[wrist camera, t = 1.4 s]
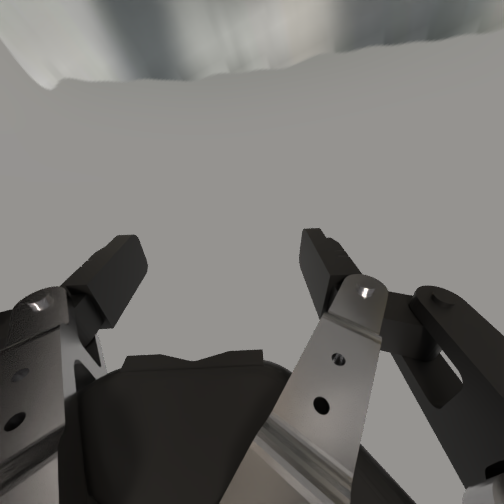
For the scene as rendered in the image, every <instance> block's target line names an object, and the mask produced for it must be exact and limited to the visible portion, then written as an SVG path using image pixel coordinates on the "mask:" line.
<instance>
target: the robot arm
mask: <svg viewBox="0 0 504 504" xmlns="http://www.w3.org/2000/svg"><path fill="white" fill-rule="evenodd" d="M299 263H300V268H301V271H302V273H303V276H304V279H305V281H306V284H307V287H308V289H309V292H310V294H311V298H312V300H313V303H314V306H315V308H316V311H317V313H318V316H319V319H320V321H319V323H318V325H317V327H316V329H315V330H314V332H313V335H312V336H311V338H310V340H309V342H308V344H307V346H306V348H305V350H304V352H303V353H302V355H301V357H300V359H299V361H298V363H297V365H296V367H295V368H294V370H293V372H290V371H289V370H287V369H286V368H284V367H282V366H280V365H278V364H275V363H273V362H270V361H265V360H263V351H262V350H243V351H228V352H225V353H222V354H218V355H215V356H211V357H208V358H205V359H201V360H198V361H187V360H183V359H179V358H174V357H170V356H166V355H161V354H158V355H138V356H127V357H126V359H125V362H124V364H123V366H122V368H121V369H118V370H115V371H113V372H110V373H107V370H106V365H105V361H104V357H103V353H102V348H101V344H100V340H99V337H98V336H97V334H96V333H97V331H98V330H99V329H107V328H114V326H115V324H116V323H117V321H118V320H119V318H120V316H121V315H122V313H123V311H124V310H125V308H126V306H127V305H128V303H129V301H130V300H131V298H132V296H133V295H134V293H135V291H136V290H137V288H138V286H139V284H140V283H141V281H142V280H143V278H144V276H145V275H146V273H147V268H148V264H147V260H146V257H145V255H144V252H143V249H142V247H141V244H140V241H139V239H138V237H137V236H136V235H118V236H116V237H115V238H114V239H113V240H112V241H111V242H110V243H109V244H108V245H107V246H106V247H104V248H102V249H100V250H99V251H97V252H95V253H94V254H93V255H92V256H91V257H90V258H89V259H88V261H86V262H85V263H84V264H83V265H82V267H80V268H79V269H78V270H76V271H75V272H74V273H73V274H72V275H71V276H70V277H69V278H68V279H67V280H66V281H65V282H64V283H63V284H62V285H61V286H59V287H58V286H56V287H48V288H45V289H41V290H39V291H36V292H34V293H32V294H30V295H28V296H26V297H25V298H23V299H22V300H20V301H19V302H18V303H17V304H16V305H15V306H14V308H13V309H12V310H8V311H4V312H0V504H416V503H415V502H414V501H413V500H412V499H411V498H410V496H409V495H408V494H407V493H406V492H405V491H404V490H403V489H402V488H401V487H400V486H399V485H398V484H397V483H396V481H395V480H394V479H393V478H392V477H391V476H390V475H389V474H388V473H387V472H386V471H385V470H384V469H383V467H382V466H380V464H379V463H378V462H377V461H376V460H375V459H374V458H373V457H372V456H371V455H370V454H369V452H367V450H366V449H365V448H364V447H363V446H362V445H361V444H360V441H361V437H362V432H363V427H364V423H365V418H366V413H367V409H368V404H369V399H370V394H371V390H372V385H373V381H374V376H375V371H376V366H377V362H378V357H379V352H380V350H382V351H386V352H390V353H391V355H392V356H393V358H394V360H395V362H396V364H397V365H398V367H399V369H400V371H401V372H402V374H403V376H404V378H405V380H406V382H407V384H408V385H409V387H410V389H411V391H412V393H413V394H414V396H415V398H416V400H417V402H418V403H419V405H420V407H421V409H422V411H423V412H424V414H425V416H426V418H427V420H428V422H429V423H430V425H431V427H432V429H433V431H434V432H435V434H436V436H437V438H438V440H439V441H440V443H441V445H442V447H443V449H444V451H445V452H446V454H447V456H448V458H449V459H450V461H451V463H452V465H453V467H454V469H455V470H456V472H457V474H458V476H459V478H460V480H461V481H462V483H463V485H464V487H465V489H466V490H465V493H464V495H463V504H504V336H503V335H502V334H501V333H500V332H499V331H498V330H497V329H495V328H494V327H493V326H492V325H491V324H490V323H489V322H488V321H487V320H486V319H484V318H483V317H482V316H481V315H480V314H479V313H478V312H477V311H476V310H475V309H473V308H472V307H471V306H470V305H469V304H468V303H467V302H466V301H465V300H463V299H462V298H461V297H459V296H458V295H456V294H454V293H452V292H450V291H448V290H446V289H443V288H440V287H435V286H421V287H419V288H417V290H416V291H415V293H414V295H413V296H411V295H405V294H400V293H394V292H389V291H388V290H387V288H386V286H385V285H384V284H383V283H381V282H380V281H379V280H377V279H375V278H373V277H370V276H367V275H363V274H362V273H361V272H360V271H359V269H358V268H357V267H356V265H355V264H354V263H353V261H352V260H351V258H350V257H348V254H347V253H346V252H345V251H344V249H343V248H342V246H341V245H340V244H339V243H338V242H337V241H335V240H333V239H332V238H326V237H325V235H324V234H323V232H322V231H321V229H320V228H311V229H303V232H302V239H301V246H300V254H299ZM441 350H443V351H444V353H445V354H446V355H447V356H448V358H449V359H450V360H451V362H452V363H453V364H454V365H455V367H456V368H457V369H458V371H459V373H460V374H461V377H462V380H463V383H462V382H461V381H460V379H459V378H458V377H457V375H456V374H455V373H454V371H453V370H452V369H451V367H450V366H449V365H448V364H447V362H446V361H445V359H444V358H443V357H442V355H441V354H440V352H441Z"/></svg>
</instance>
